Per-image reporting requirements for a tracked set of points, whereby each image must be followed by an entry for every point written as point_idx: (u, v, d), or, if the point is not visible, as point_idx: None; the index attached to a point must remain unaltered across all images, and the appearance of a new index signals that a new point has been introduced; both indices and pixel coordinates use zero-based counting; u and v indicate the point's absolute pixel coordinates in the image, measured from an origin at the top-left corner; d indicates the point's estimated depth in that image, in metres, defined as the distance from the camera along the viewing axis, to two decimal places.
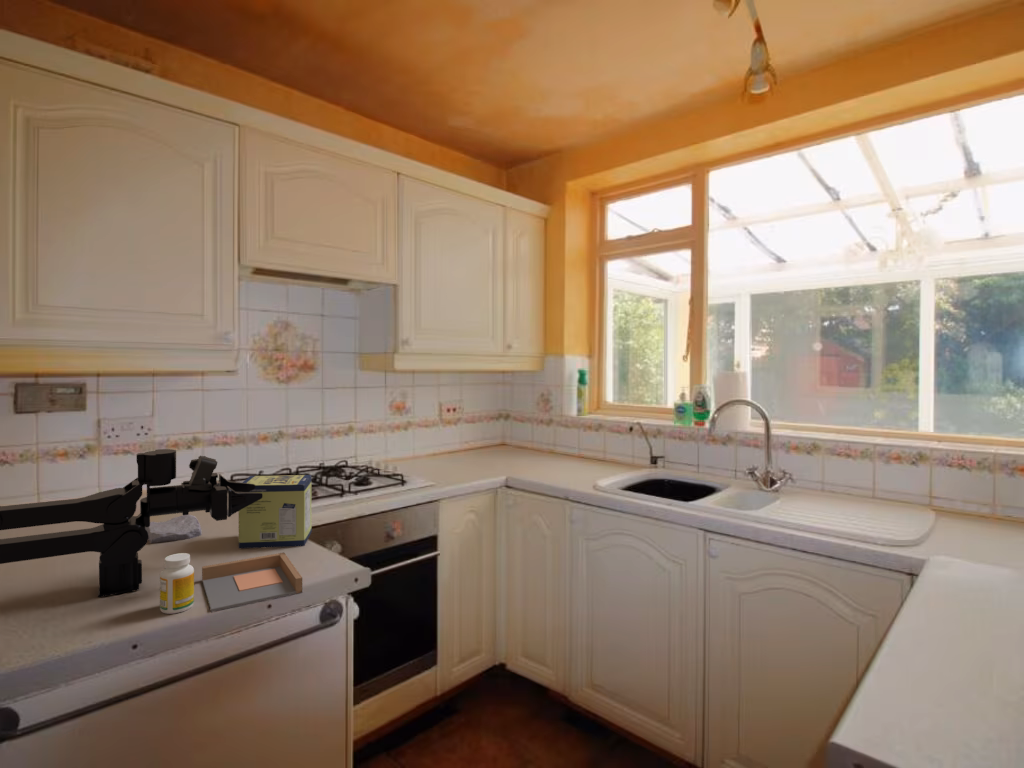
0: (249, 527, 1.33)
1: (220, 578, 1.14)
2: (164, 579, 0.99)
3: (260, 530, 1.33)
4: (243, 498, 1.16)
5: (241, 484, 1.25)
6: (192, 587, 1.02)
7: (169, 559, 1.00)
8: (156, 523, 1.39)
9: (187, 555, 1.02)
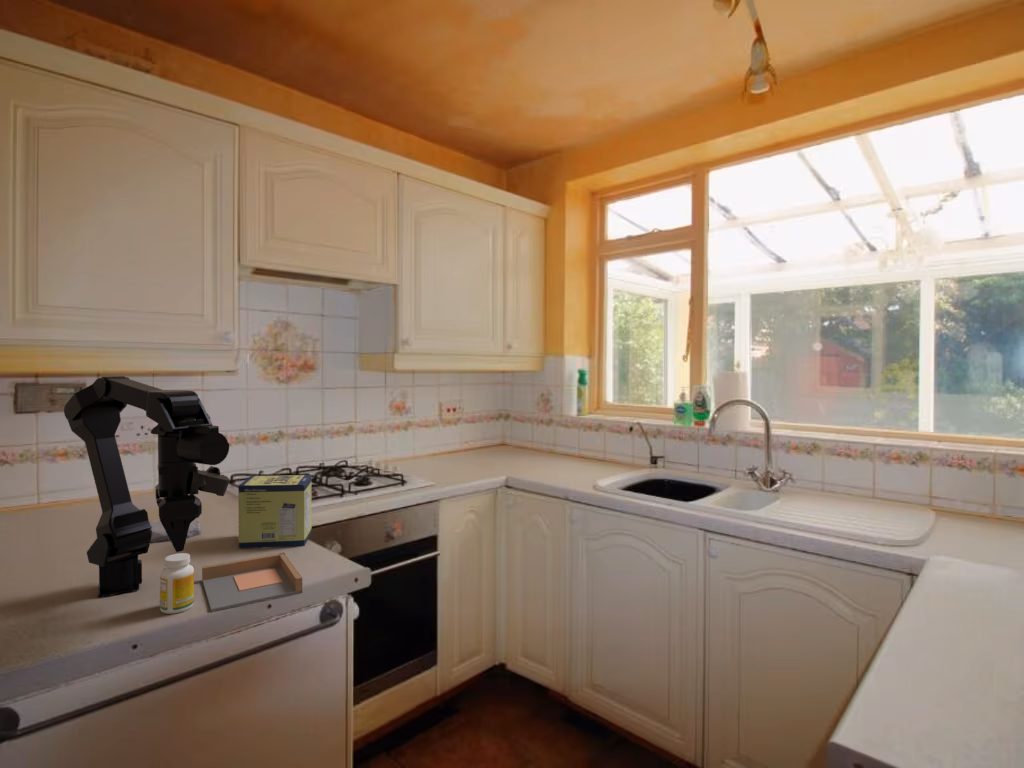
0: (249, 527, 1.33)
1: (220, 578, 1.14)
2: (164, 579, 0.99)
3: (260, 530, 1.33)
4: (180, 531, 0.97)
5: None
6: (192, 587, 1.02)
7: (169, 559, 1.00)
8: (155, 523, 1.40)
9: (187, 555, 1.02)
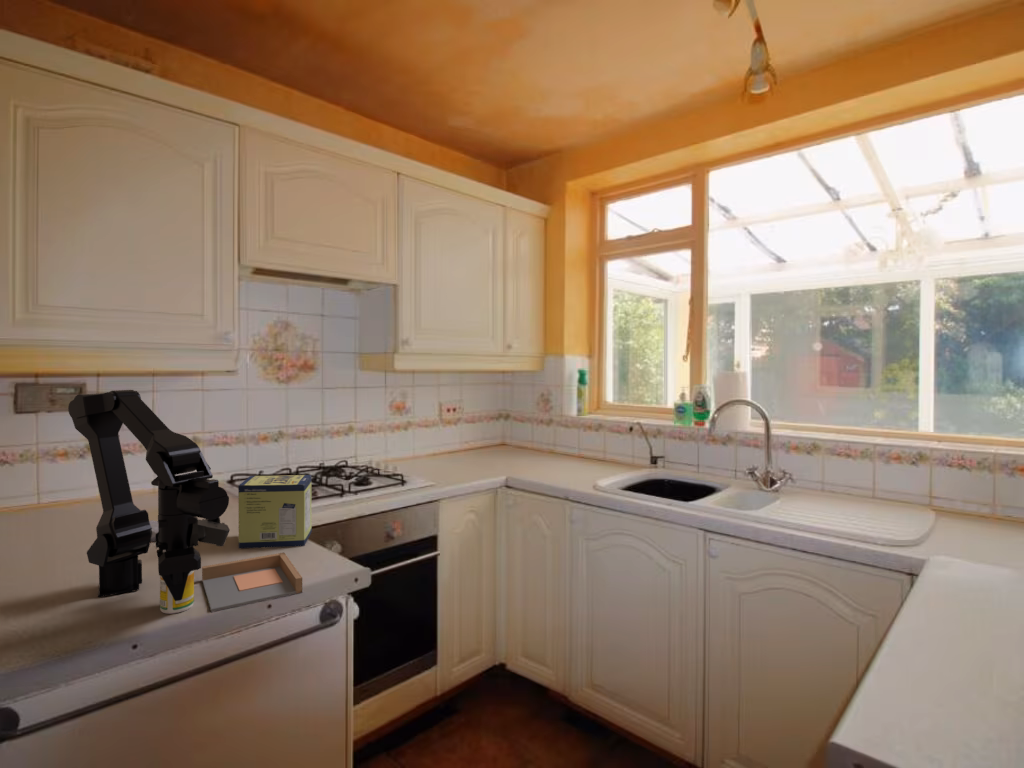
0: (249, 527, 1.33)
1: (220, 578, 1.14)
2: None
3: (260, 530, 1.33)
4: (179, 581, 0.98)
5: None
6: (192, 587, 1.02)
7: None
8: (155, 522, 1.40)
9: None
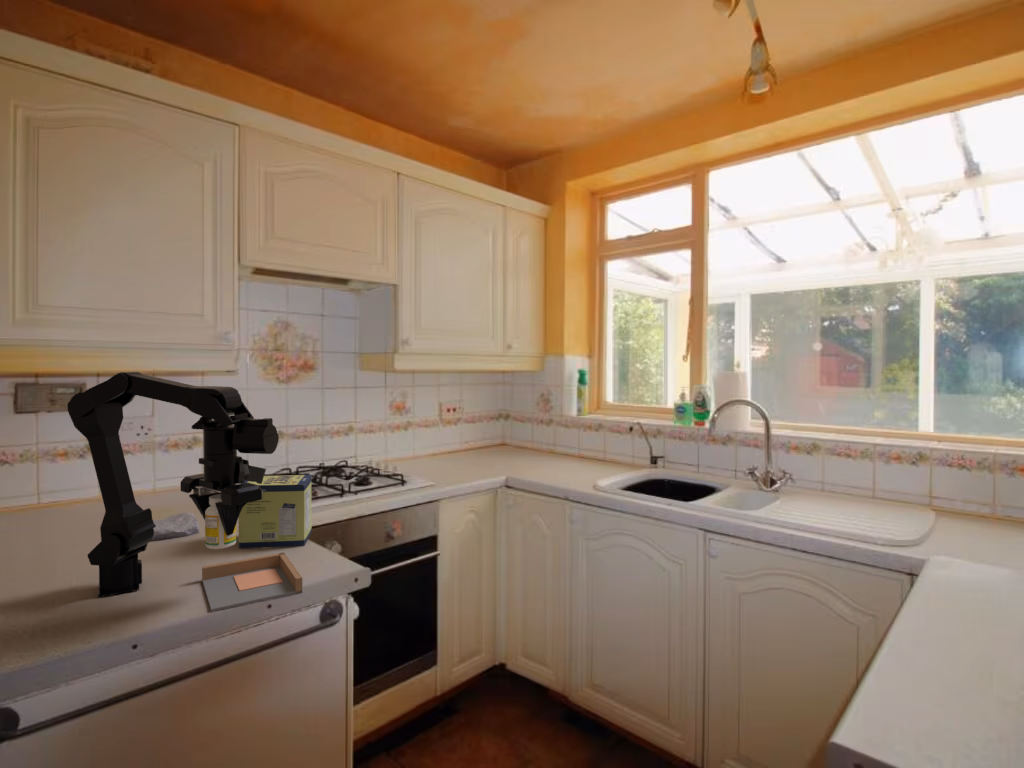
0: (249, 527, 1.33)
1: (220, 578, 1.14)
2: (214, 516, 1.04)
3: (260, 530, 1.33)
4: (233, 515, 1.05)
5: None
6: None
7: (216, 498, 1.05)
8: (154, 521, 1.41)
9: None
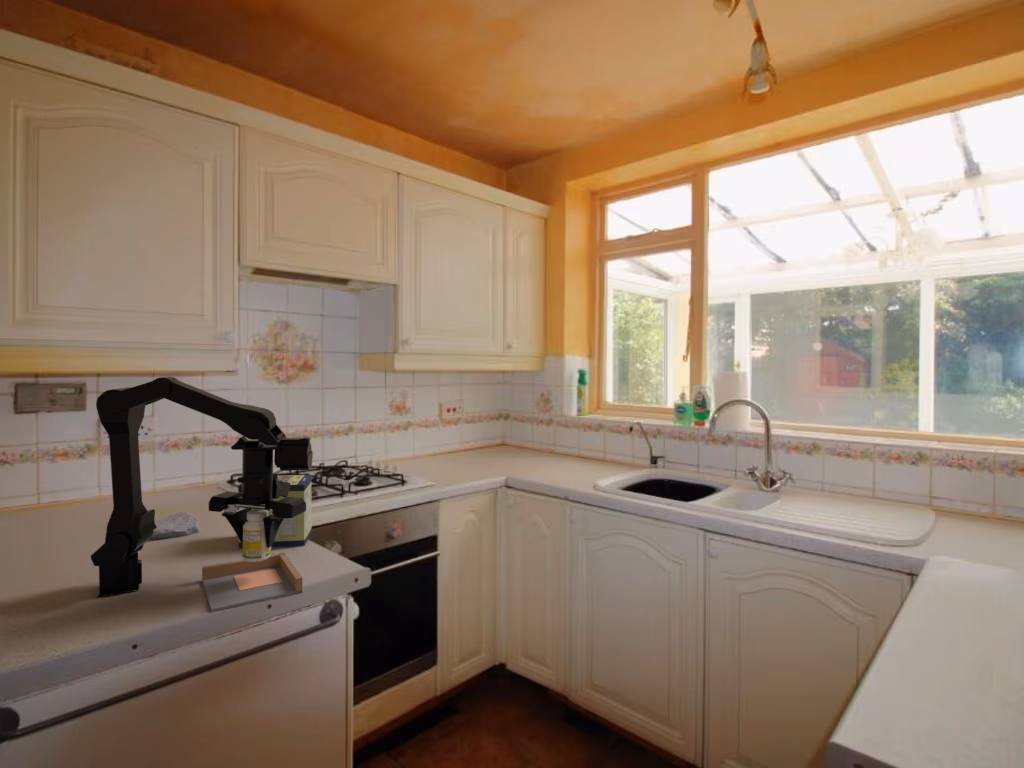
0: None
1: (220, 578, 1.14)
2: (257, 530, 1.11)
3: None
4: (275, 528, 1.13)
5: None
6: None
7: (256, 513, 1.12)
8: None
9: None
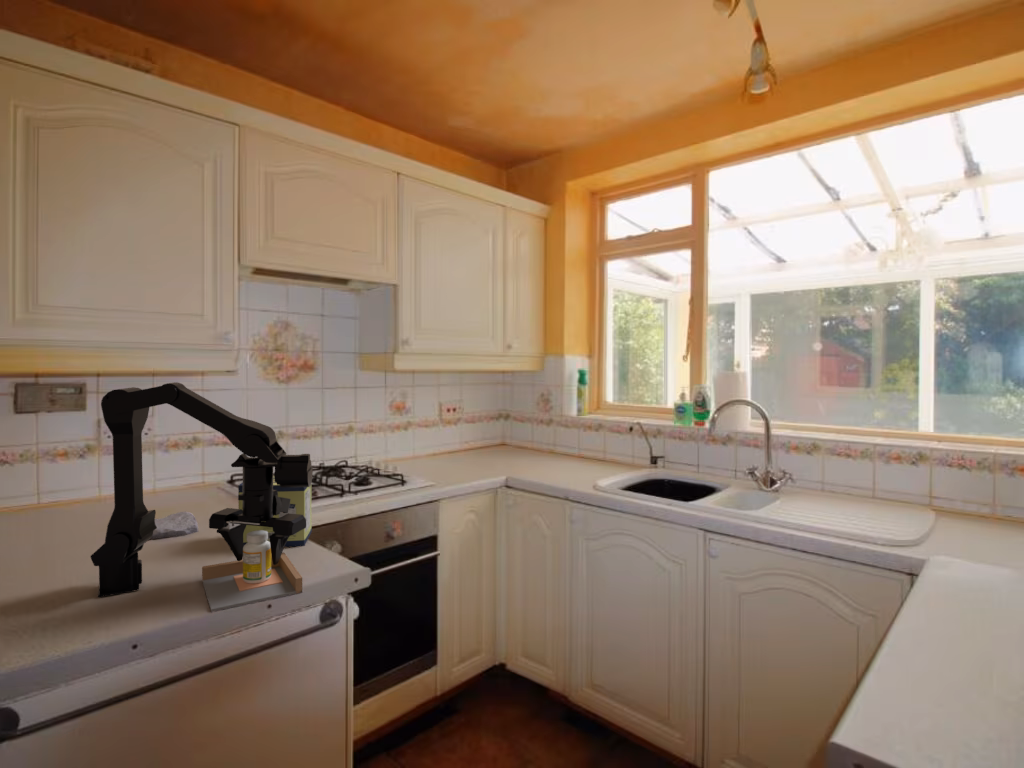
0: (249, 527, 1.33)
1: (220, 578, 1.14)
2: (257, 552, 1.11)
3: None
4: (281, 546, 1.13)
5: (242, 546, 1.15)
6: None
7: (256, 535, 1.12)
8: None
9: (262, 530, 1.15)
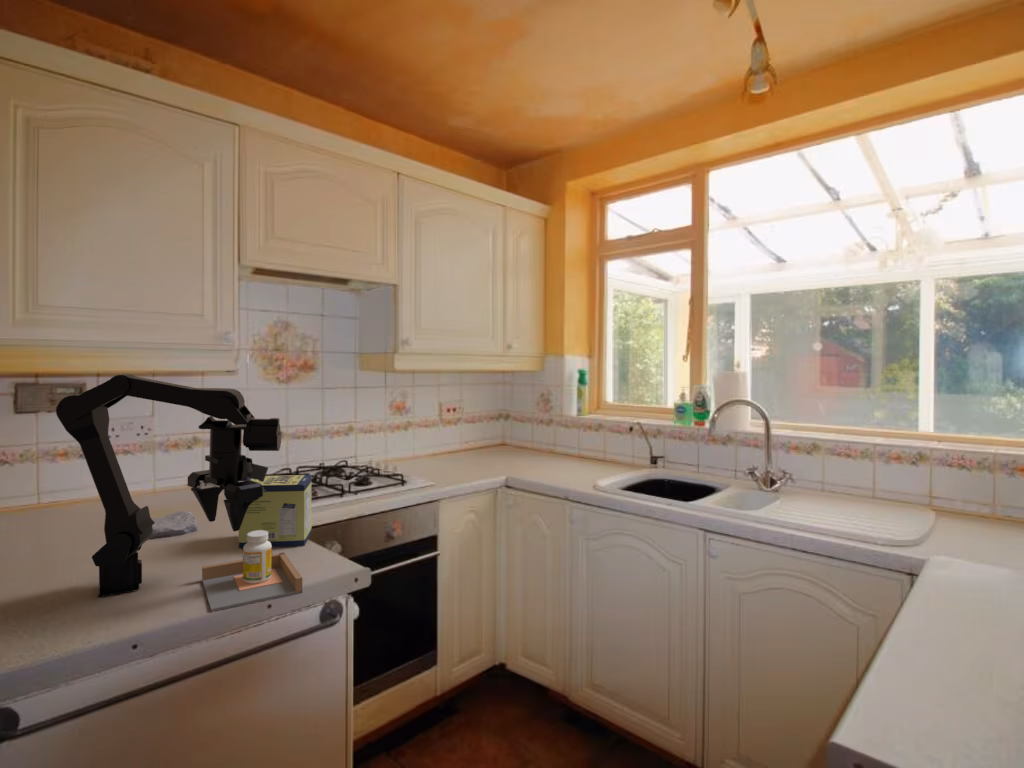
0: (249, 527, 1.33)
1: (220, 578, 1.14)
2: (258, 552, 1.11)
3: None
4: (240, 512, 1.10)
5: (216, 507, 1.16)
6: None
7: (256, 535, 1.12)
8: None
9: (262, 530, 1.15)
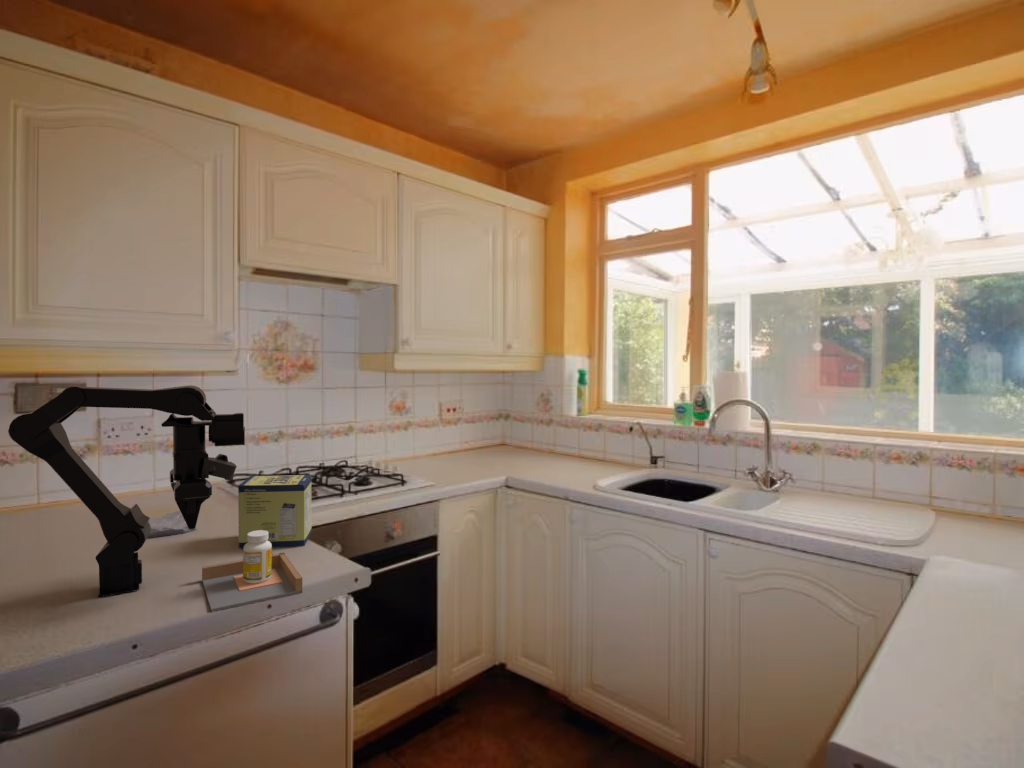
0: (249, 527, 1.33)
1: (220, 578, 1.14)
2: (258, 552, 1.11)
3: None
4: (193, 510, 1.09)
5: None
6: None
7: (256, 535, 1.12)
8: (151, 519, 1.43)
9: (262, 530, 1.15)
